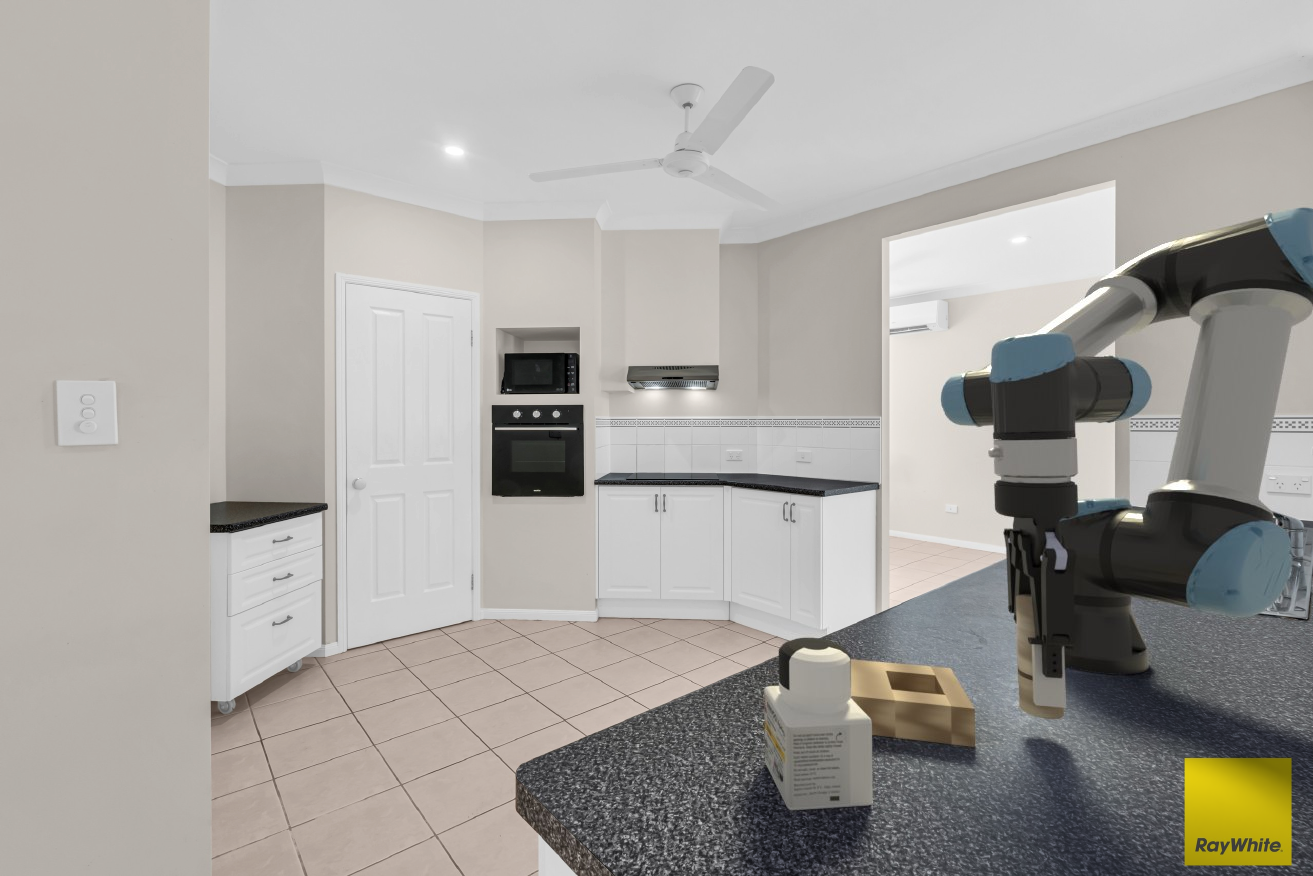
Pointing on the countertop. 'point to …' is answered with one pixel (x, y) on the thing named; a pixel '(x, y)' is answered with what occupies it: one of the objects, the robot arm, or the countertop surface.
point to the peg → (1029, 661)
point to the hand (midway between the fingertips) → (1040, 694)
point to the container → (817, 729)
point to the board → (913, 702)
